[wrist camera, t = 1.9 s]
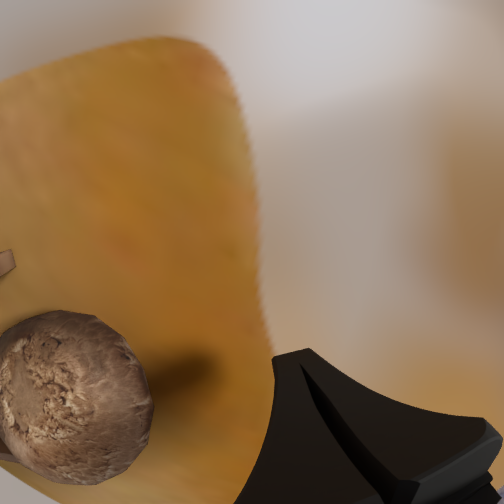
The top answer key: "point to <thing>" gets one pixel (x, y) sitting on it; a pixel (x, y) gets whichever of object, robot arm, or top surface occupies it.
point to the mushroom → (72, 398)
